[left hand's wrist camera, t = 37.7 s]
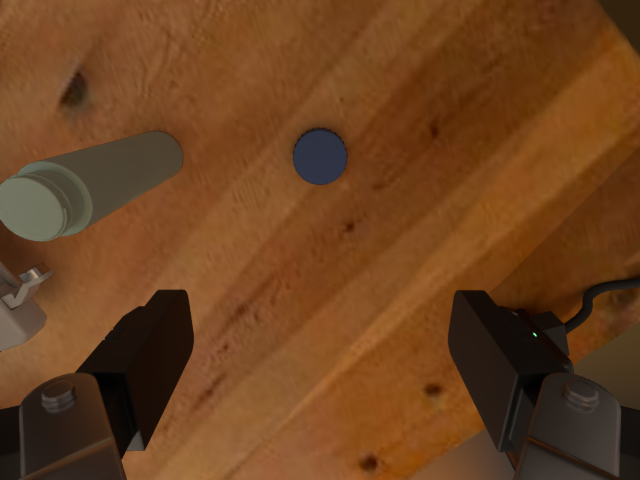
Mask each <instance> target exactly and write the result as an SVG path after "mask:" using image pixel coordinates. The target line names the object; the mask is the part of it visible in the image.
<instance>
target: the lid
mask: <svg viewBox="0 0 640 480" xmlns="http://www.w3.org/2000/svg"><path fill="white" fill-rule="evenodd" d="M344 145H345V144H344V142H342V140H341V137H339V136H338V135H337V134H336V133H334V132H333V131H331V130H328V129H325V128H319V127H318V128H316V129H312V130H309V131H307V132H306V133H305V134H302V136H301V137H300V139H298V141H297V144H295V149H294V151H293V162H294V166H295V169H296V171H297V172H298V174H299V175H300V176H301V177H302V178H303V179H304V180H306V181H307V182H309V183H312V184H317V185H323V184H328V183H331V182H333V181H334V180H336V179H337V178H338V177H339V176H340V175H341V174H342V172H343V171H344V169H345V166H346V163H347V153H346V151H347V150H346V147H345V146H344Z"/></svg>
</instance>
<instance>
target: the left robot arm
mask: <svg viewBox="0 0 640 480" xmlns="http://www.w3.org/2000/svg"><path fill="white" fill-rule="evenodd" d="M636 287H640V278H638V279H633V280H625V281H615V282H607V283H603V284H599V285H596V286H594V287H592V288H590V289H589V290H588V291H586V292H585V293H584V295H583V300H582V308H581V310H580V311H579V312H578V313H577V314H576V315H575V316H574V317H573V318H571V319H570V320H569V321H567V322H566V323H564V324H563V323H562V322H561V321H560V320H559V319H558V318H557V317H556V316H555V315H554V314H553V313H552V312H551V311H548V312H545V313H541V314H538V315H535V316H531V317H530V315H529V314H528V313H527V312H526V311H525V310H524V309H519V310H512V309H509V308H504V307H497V305H496V304H495V303H494V302H493V300H492V299H491V298H490V297H489V295H488V294H487V293H486V292H485V291H483V290H458V291H456V293H455V295H454V300H453V306H452V313H451V319H450V326H449V333H448V345H449V351H450V354H451V357H452V359H453V361H454V363H455V365H456V367H457V369H458V371H459V373H460V375H461V377H462V379H463V381H464V383H465V385H466V387H467V389H468V391H469V394H470V396H471V398H472V400H473V402H474V404H475V406H476V408H477V410H478V412H479V414H480V416H481V418H482V420H483V422H484V424H485V426H486V428H487V430H488V432H489V434H490V436H491V439H492V441H493V443H494V445H495V447H496V449H497V451H498V452H505V453H506V455H507V457H508V459H509V461H510V463H511V464H512V467H513V469H514V470H515V475H514V478H513V480H640V410H636V409H632V408H628V407H623V406H620V405H619V403H618V401H617V400H616V399H615V397H614V396H613V395H612V394H611V393H610V392H608V391H607V390H606V389H605V388H603V387H602V386H600V385H599V384H597V383H595V382H593V381H591V380H589V379H587V378H584V377H581V376H578V375H575V374H574V370H573V364H572V362H571V360H570V359H569V358H568V357H567V356H569V350H568V344H567V337H566V334H567V333H569V332H570V331H572V330H573V329H575V328H576V327H578V326H579V325H580V324H582V323H583V322H584V321H585V320H586V319H587V318H588V317H589V315H590V314H591V312H592V307H593V298H594V297H596V296H597V295H599V294H601V293H603V292H606V291H610V290H619V289H629V288H636ZM193 344H194V332H193V326H192V319H191V312H190V306H189V299H188V294H187V292H186V291H185V290H158V291H156V293H155V294H154V295H153V296H152V298H151V299H150V300H149V301H148V303H147V304H146V305H145V306H139V307H137V308H136V309H134V310H132V311H131V312H129V313H128V314H126V315H125V316H123V317H122V318H121V320H120V321H119V322H118V323H117V324H116V325H115V327H114V328H113V330H111V331H110V332H109V334H108V335H107V336H106V337H105V340H102V342H101V343H100V344H99V345H98V346H97V347H96V349H95V350H94V351H93V352H92V353H91V354H90V356H89V357H88V358H87V359H86V360H85V361H84V363H83V364H82V365H81V366H80V367H79V368H78V370H77V371H76V372H75V373H70V374H65V375H62V376H59V377H56V378H53V379H51V380H49V381H47V382H45V383H43V384H41V385H40V386H38V387H37V388H35V389H34V390H33V391H32V392H30V393H29V394H28V395H27V396H26V397H25V399H24V400H23V401H22V403H21V405H19V406H14V407H10V408H5V409H1V410H0V480H127V478H126V475H125V471H124V468H123V464H122V461H121V460H122V458H123V456H124V454H125V452H126V451H145V449H146V447H147V445H148V443H149V441H150V439H151V437H152V435H153V433H154V430H155V428H156V426H157V424H158V422H159V420H160V418H161V416H162V414H163V412H164V410H165V408H166V406H167V404H168V401H169V399H170V397H171V395H172V393H173V391H174V389H175V387H176V385H177V383H178V381H179V379H180V377H181V374H182V372H183V370H184V368H185V366H186V364H187V362H188V360H189V358H190V356H191V353H192V350H193Z"/></svg>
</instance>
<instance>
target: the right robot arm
mask: <svg viewBox="0 0 640 480" xmlns="http://www.w3.org/2000/svg"><path fill="white" fill-rule="evenodd" d="M53 274H54V273H53V272H52V271H51V270H50V268H49V267H48V266H47V265H46V264H45V263H44V262H42V263H40V264H38V265H35V266H33V267H31V268H30V269H28V270H27V271H25V272H23V273H21V274H20V275H18V276H19V277H20V279H21V280H22V281H23V282H24V283H23V284H22V285H21V284H20V283H19V282H18V281H17V279H16V278H15V277H14V276H13V275H12V274H11V272H10V271H9V270H8V269H7V268H6V266H5V265H4V264H3V263H2V262H1V261H0V352H2V351H3V350H6V349H9V348H12V347H15V346H18V345H21V344H23V343H25V342H26V341H28V340H29V339H30V338H32V337H33V336H34V335H35V334H37V333H38V332H39V331H40V330H41V329H42V328H43V327H44V325H45V322H46V319H47V316H46V314H45V313H44V311H43V310H42V309H41V308H40V307H39V305H38V304H37V303H36V302H35V301H34V300H33V298H32V296H33V295H35V294H36V293H37V290H38V288H39V286H40V284H41V282H42V281H44V280H46V279H47V278H49V277H50V276H52V275H53Z"/></svg>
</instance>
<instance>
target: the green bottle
mask: <svg viewBox="0 0 640 480" xmlns="http://www.w3.org/2000/svg"><path fill="white" fill-rule="evenodd" d="M182 163H183V154H182V150H181V148H180V146H179V144H178V143H177V141H176V140H175V139H174V138H173V137H171V136H170V135H168V134H166V133H164V132H160V131H151V132H147V133H143V134H139V135H136V136H132V137H128V138H124V139H120V140H116V141H113V142H109V143H105V144H101V145H97V146H93V147H90V148H86V149H82V150H78V151H74V152H71V153H67V154H63V155H59V156H55V157H51V158H48V159H44V160H40V161H36V162H32V163H30V164H27V165H26V166H24V167H23V168H22V169H20V171H19V172H18V173H17V174H15V175H13V176H11V177H9V178H7V179H6V180H5V181H4V182H3V183H2V184H1V185H0V219H1V221H2V222H3V223H4V225H5V226H6V227H7V228H8V229H9V230H11V231H12V232H13V233H15V234H17V235H18V236H20V237H22V238H25V239H28V240H33V241H42V242H44V241H51V240H53V239H55V238H57V237H59V236H70V235H74V234H77V233H79V232H81V231H82V230H84V229H86V228H87V227H89V226H91V225H92V224H94V223H96V222H97V221H99V220H101V219H102V218H104V217H106V216H107V215H109V214H110V213H112V212H114V211H115V210H117V209H119V208H120V207H122V206H124V205H125V204H127V203H129V202H130V201H132V200H134V199H135V198H137V197H139V196H140V195H142V194H144V193H145V192H147V191H149V190H150V189H152V188H154V187H155V186H157V185H159V184H160V183H162V182H164V181H165V180H167V179H169V178H170V177H172V176H174V175H175V174H176V173H177V172H178V171H179V170H180V168H181V166H182Z"/></svg>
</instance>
